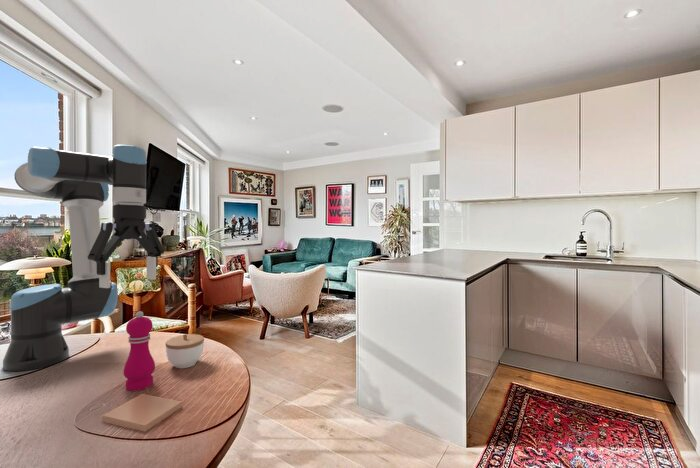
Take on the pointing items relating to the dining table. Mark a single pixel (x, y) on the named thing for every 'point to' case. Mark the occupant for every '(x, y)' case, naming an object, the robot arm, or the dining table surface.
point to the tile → (142, 412)
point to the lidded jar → (184, 350)
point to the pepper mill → (139, 354)
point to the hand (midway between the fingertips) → (129, 283)
